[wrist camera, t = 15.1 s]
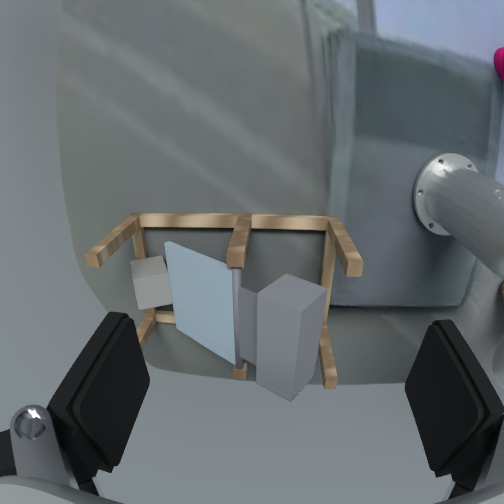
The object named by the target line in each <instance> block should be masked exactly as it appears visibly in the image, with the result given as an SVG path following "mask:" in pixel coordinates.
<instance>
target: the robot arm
mask: <svg viewBox="0 0 504 504" xmlns="http://www.w3.org/2000/svg"><path fill="white" fill-rule="evenodd" d="M419 190H420V191H419ZM413 202H414V208H415V211H416V214H417V216H418V218H419V220H420V222H421V223H422V224H423V225H424V226H425V227H426V228H427V229H428V230H430V231H431V232H433V233H435V234H438V235H444V236H448V235H452V236H453V237H454V238H455V239H456V240H457V241H459V242H460V243H461V244H462V245H463V246H464V247H466V248H467V249H468V250H469V251H470V252H471V253H472V254H473V255H475V256H476V257H477V258H478V259H479V260H480V261H481V262H482V263H483V264H484V265H485V266H487V267H488V268H489V269H490V270H491V271H492V272H493V273H494V274H496V275H497V276H499V277H501V278H503V279H504V184H503V183H500V182H498V181H496V180H494V179H491V178H489V177H487V176H484V175H482V174H480V173H479V172H478V170H477V169H476V167H475V166H474V164H473V163H472V162H471V161H470V160H469V159H467V158H466V157H464V156H462V155H459V154H456V153H442V154H439V155H437V156H435V157H433V158H432V159H430V160H429V161H428V162H427V163H426V164H425V165H424V167H423V168H422V169H421V171H420V173H419V175H418V176H417V179H416V182H415V186H414V192H413ZM493 372H494V375H495V378H496V380H497V382H498V383H499V385H500V386H501V387H502V389H503V390H504V333H503V335H502V337H501V339H500V341H499V343H498V345H497V347H496V350H495V353H494V357H493ZM149 383H150V377H149V373H148V370H147V367H146V364H145V360H144V357H143V353H142V350H141V346H140V343H139V339H138V335H137V331H136V327H135V324H134V320H133V319H132V318H129V316H128V314H126V313H119V312H109V313H108V314H107V315H106V317H105V318H104V320H103V321H102V322H101V324H100V326H99V327H98V328H97V330H96V331H95V333H94V334H93V335H92V337H91V338H90V340H89V341H88V343H87V344H86V346H85V347H84V349H83V350H82V352H81V353H80V355H79V356H78V358H77V359H76V361H75V362H74V364H73V365H72V367H71V368H70V370H69V371H68V373H67V375H66V376H65V378H64V379H63V381H62V383H61V384H60V386H59V387H58V389H57V390H56V392H55V394H54V395H53V397H52V399H51V400H50V402H49V405H48V406H47V408H46V409H45V408H44V407H41V406H40V405H27V406H25V407H23V408H21V409H20V410H18V411H17V412H16V413H15V414H14V416H13V417H12V420H11V422H10V429H8V430H6V431H3V432H0V504H123V503H119V502H116V501H113V500H109V499H106V498H105V497H104V495H103V493H102V491H101V489H100V487H99V484H98V482H97V480H96V477H95V476H96V474H97V471H98V469H100V470H103V471H106V472H109V473H111V472H112V470H113V467H114V466H118V464H119V463H120V461H121V458H122V455H123V453H124V450H125V447H126V444H127V442H128V439H129V436H130V434H131V431H132V428H133V426H134V423H135V421H136V418H137V415H138V413H139V410H140V408H141V405H142V402H143V400H144V397H145V395H146V392H147V390H148V387H149ZM405 392H406V395H407V398H408V401H409V403H410V406H411V409H412V412H413V415H414V418H415V421H416V424H417V427H418V431H419V434H420V437H421V440H422V443H423V446H424V450H425V453H426V457H427V460H428V464H429V467H430V469H431V470H432V471H434V472H435V475H436V477H441V476H444V475H448V474H450V473H451V476H452V481H451V483H450V486H449V487H448V490H447V492H446V494H445V496H444V498H443V500H442V502H438V503H435V504H504V414H503V413H504V406H503V404H502V402H501V400H500V398H499V396H498V395H497V393H496V391H495V389H494V387H493V385H492V384H491V382H490V380H489V378H488V377H487V375H486V373H485V372H484V370H483V368H482V367H481V365H480V363H479V362H478V360H477V358H476V357H475V355H474V353H473V352H472V350H471V349H470V347H469V345H468V344H467V342H466V341H465V339H464V338H463V336H462V335H461V333H460V332H459V330H458V329H457V327H456V326H455V324H454V323H453V321H452V320H449V319H448V320H436V321H434V322H433V323H432V325H430V326H429V327H428V329H427V331H426V334H425V337H424V339H423V342H422V344H421V347H420V350H419V352H418V354H417V357H416V359H415V362H414V364H413V366H412V369H411V371H410V373H409V376H408V378H407V380H406V383H405Z"/></svg>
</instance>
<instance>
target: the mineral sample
mask: <svg viewBox="0 0 504 504" xmlns="http://www.w3.org/2000/svg"><path fill="white" fill-rule="evenodd" d="M499 293H500V294H501V296H502V297H503V298H504V281H503V283H502V284H501V286H500V289H499Z"/></svg>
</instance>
